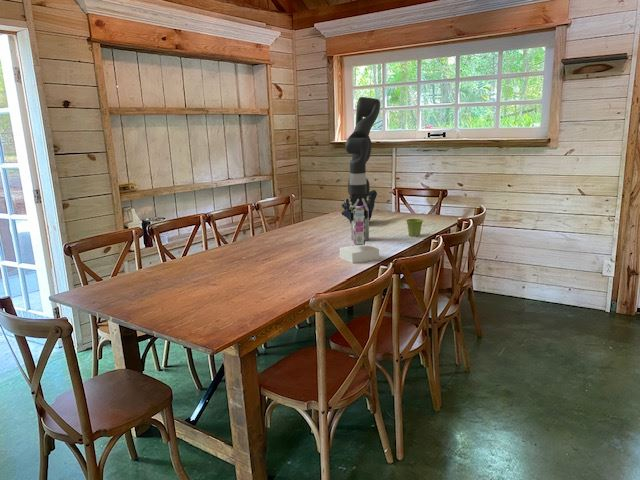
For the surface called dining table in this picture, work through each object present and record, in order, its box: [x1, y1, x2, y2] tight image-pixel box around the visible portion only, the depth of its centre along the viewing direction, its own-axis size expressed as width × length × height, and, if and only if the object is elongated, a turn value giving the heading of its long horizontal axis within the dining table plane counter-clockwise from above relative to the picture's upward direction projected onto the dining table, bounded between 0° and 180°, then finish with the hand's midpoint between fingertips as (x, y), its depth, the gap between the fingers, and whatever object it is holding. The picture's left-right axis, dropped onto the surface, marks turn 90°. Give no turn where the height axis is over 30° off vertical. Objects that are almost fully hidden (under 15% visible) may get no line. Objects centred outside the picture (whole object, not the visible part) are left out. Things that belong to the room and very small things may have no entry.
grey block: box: [339, 243, 380, 264], centre depth 219 cm, size 12×14×5 cm
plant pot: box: [405, 218, 424, 237], centre depth 261 cm, size 9×9×9 cm
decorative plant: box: [341, 189, 378, 224], centre depth 303 cm, size 21×26×30 cm
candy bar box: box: [352, 206, 366, 246], centre depth 216 cm, size 11×5×16 cm, turn 0°
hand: (358, 219), depth 215 cm, fingers closed on candy bar box, 6 cm apart
